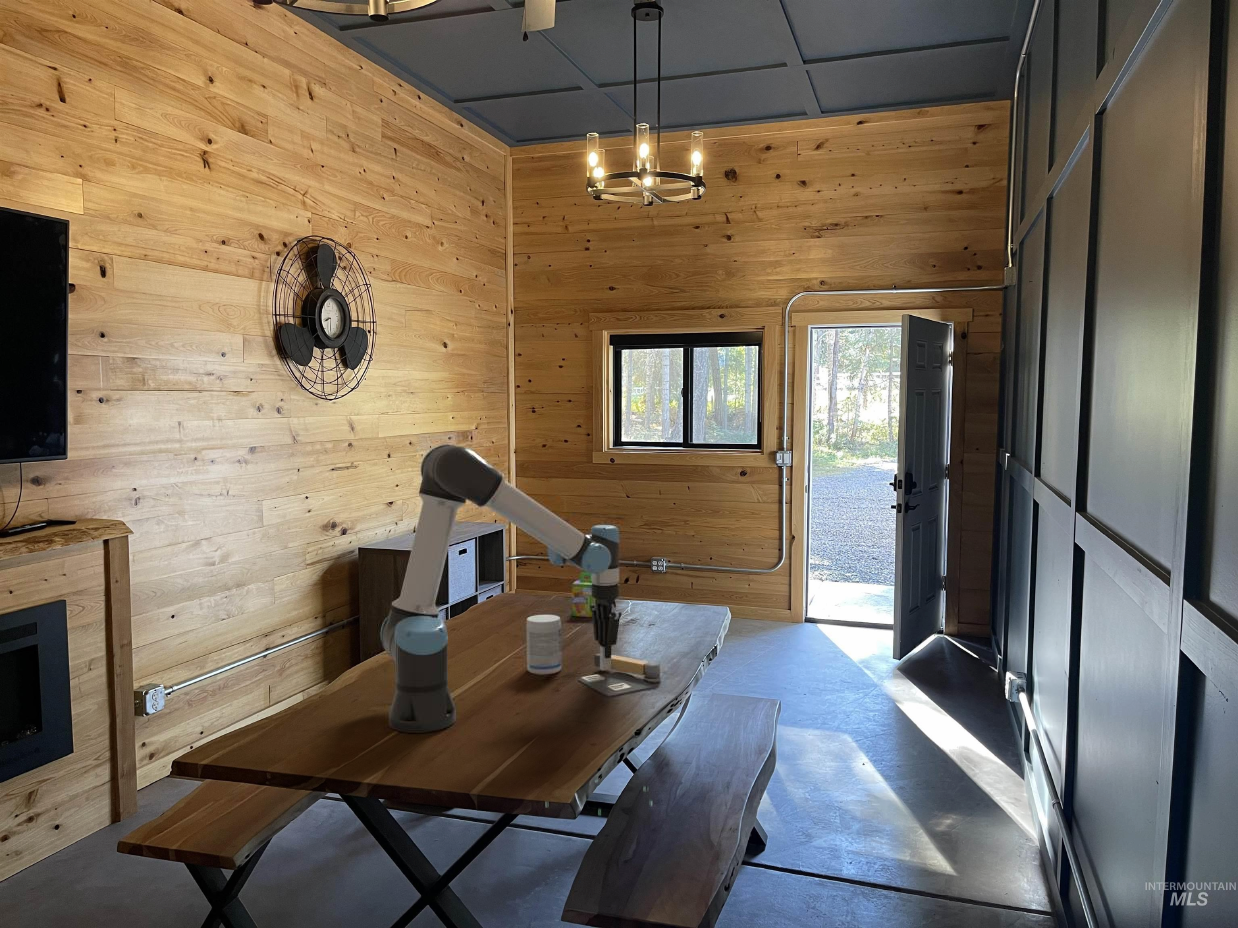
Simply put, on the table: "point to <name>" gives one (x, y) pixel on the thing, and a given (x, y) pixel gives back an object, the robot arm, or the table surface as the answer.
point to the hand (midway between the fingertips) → (605, 668)
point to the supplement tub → (543, 644)
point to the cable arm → (632, 666)
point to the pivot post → (652, 680)
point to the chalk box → (582, 596)
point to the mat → (617, 679)
